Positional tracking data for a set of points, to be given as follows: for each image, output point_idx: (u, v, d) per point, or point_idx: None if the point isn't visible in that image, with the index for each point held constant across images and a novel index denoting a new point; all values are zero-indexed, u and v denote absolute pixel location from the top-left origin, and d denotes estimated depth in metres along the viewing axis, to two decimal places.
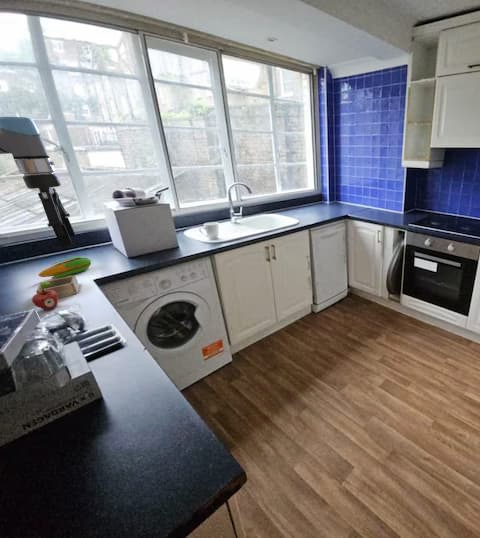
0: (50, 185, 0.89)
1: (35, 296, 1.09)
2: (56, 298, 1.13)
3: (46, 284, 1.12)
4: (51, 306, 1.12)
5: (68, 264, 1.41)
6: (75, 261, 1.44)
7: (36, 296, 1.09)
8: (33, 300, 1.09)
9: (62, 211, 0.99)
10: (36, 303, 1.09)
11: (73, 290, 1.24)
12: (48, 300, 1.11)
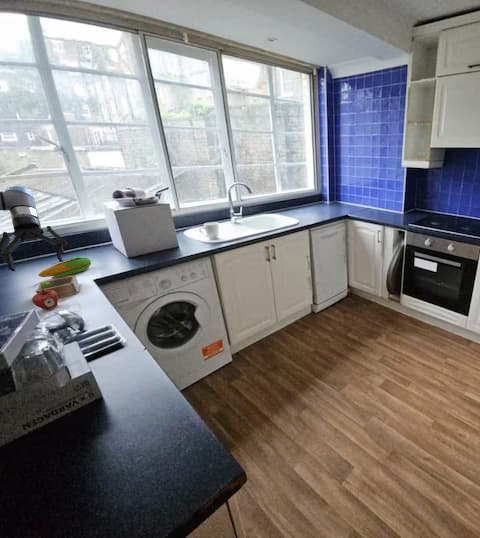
0: None
1: (35, 296, 1.09)
2: (56, 298, 1.13)
3: (46, 284, 1.12)
4: (51, 306, 1.12)
5: (68, 264, 1.41)
6: (75, 261, 1.44)
7: (36, 296, 1.09)
8: (33, 300, 1.09)
9: (13, 250, 1.15)
10: (36, 303, 1.09)
11: (73, 290, 1.24)
12: (48, 300, 1.11)
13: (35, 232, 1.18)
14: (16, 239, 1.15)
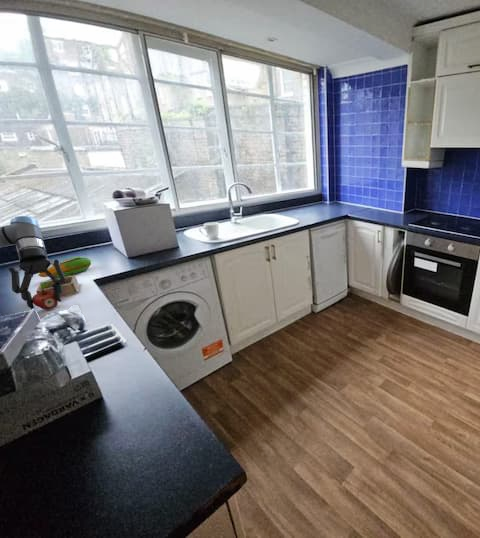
0: None
1: (35, 296, 1.09)
2: None
3: (46, 284, 1.12)
4: (51, 306, 1.12)
5: (68, 264, 1.41)
6: (75, 261, 1.44)
7: (37, 296, 1.09)
8: (33, 300, 1.09)
9: (28, 285, 1.11)
10: (36, 303, 1.09)
11: (73, 290, 1.24)
12: (48, 300, 1.11)
13: (41, 265, 1.13)
14: (27, 273, 1.10)
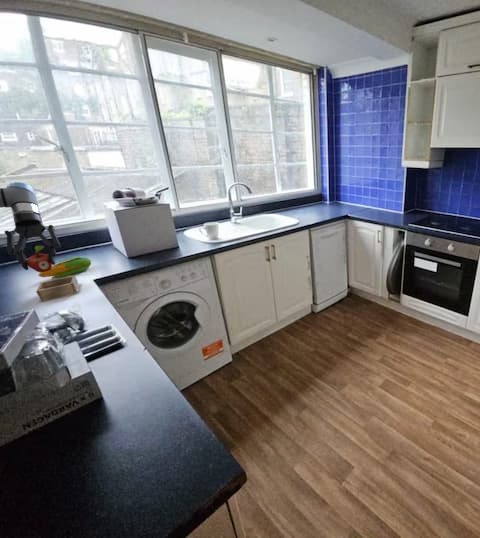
0: None
1: (30, 258, 1.13)
2: None
3: (40, 247, 1.15)
4: (45, 269, 1.15)
5: (68, 264, 1.41)
6: (75, 261, 1.44)
7: (31, 258, 1.13)
8: (28, 262, 1.12)
9: (23, 248, 1.14)
10: (30, 265, 1.12)
11: (73, 290, 1.24)
12: (42, 262, 1.14)
13: (35, 229, 1.16)
14: (22, 236, 1.14)
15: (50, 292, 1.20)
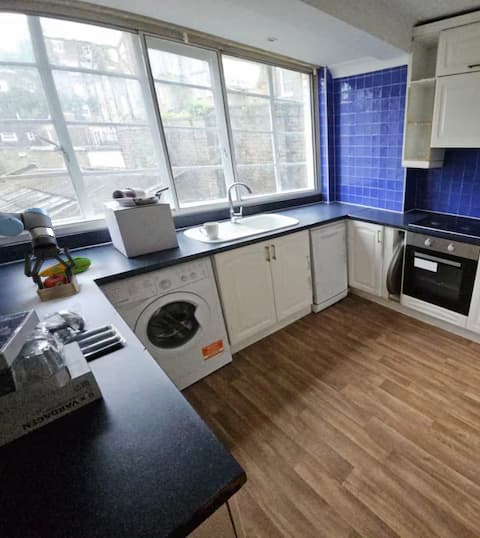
0: None
1: (47, 279, 1.21)
2: (66, 281, 1.25)
3: (57, 269, 1.24)
4: None
5: (68, 264, 1.41)
6: (75, 261, 1.44)
7: (48, 279, 1.21)
8: (45, 283, 1.20)
9: (39, 270, 1.22)
10: (48, 285, 1.20)
11: (73, 290, 1.24)
12: (58, 283, 1.23)
13: (52, 252, 1.25)
14: (38, 259, 1.22)
15: (50, 292, 1.20)
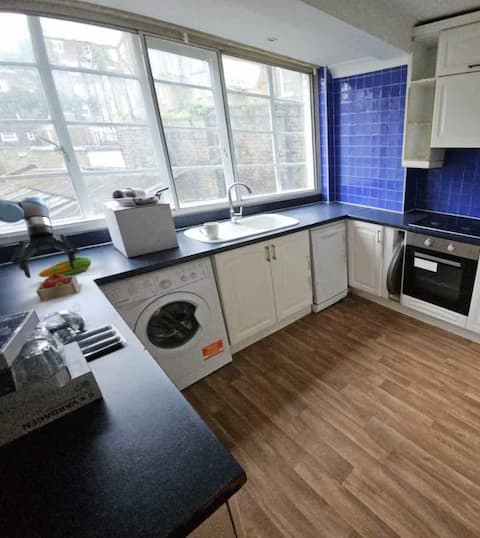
0: None
1: (47, 279, 1.21)
2: (66, 281, 1.25)
3: (57, 269, 1.24)
4: None
5: (68, 264, 1.41)
6: (75, 261, 1.44)
7: (48, 279, 1.21)
8: (45, 283, 1.20)
9: (28, 258, 1.22)
10: (48, 285, 1.20)
11: (73, 290, 1.24)
12: (58, 283, 1.23)
13: (49, 241, 1.25)
14: (32, 247, 1.22)
15: (50, 292, 1.20)
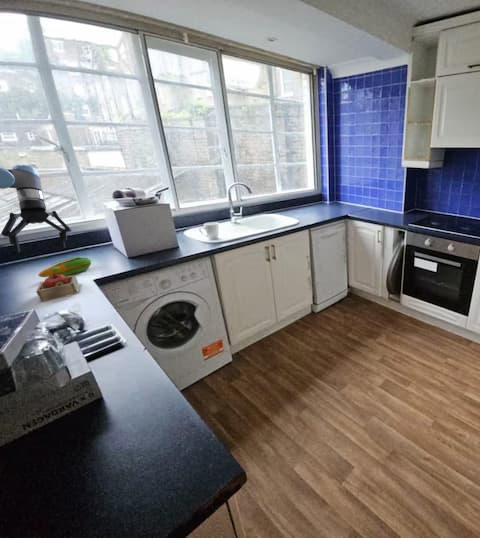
0: None
1: (47, 279, 1.21)
2: (66, 281, 1.25)
3: (57, 269, 1.24)
4: None
5: (68, 264, 1.41)
6: (75, 261, 1.44)
7: (48, 279, 1.21)
8: (45, 283, 1.20)
9: (19, 231, 1.22)
10: (48, 285, 1.20)
11: (73, 290, 1.24)
12: (58, 283, 1.23)
13: (41, 216, 1.25)
14: (23, 222, 1.21)
15: (50, 292, 1.20)
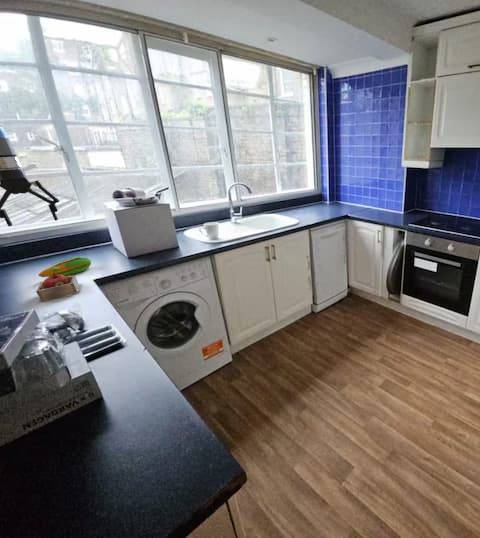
0: None
1: (47, 279, 1.21)
2: (66, 281, 1.25)
3: (57, 269, 1.24)
4: None
5: (68, 264, 1.41)
6: (75, 261, 1.44)
7: (48, 279, 1.21)
8: (45, 283, 1.20)
9: None
10: (48, 285, 1.20)
11: (73, 290, 1.24)
12: (58, 283, 1.23)
13: (25, 188, 1.17)
14: (6, 195, 1.14)
15: (50, 292, 1.20)
